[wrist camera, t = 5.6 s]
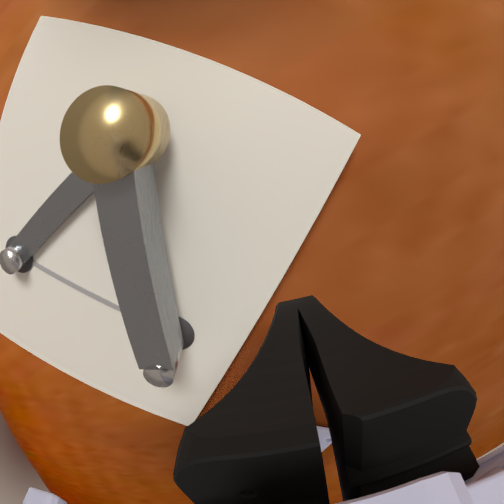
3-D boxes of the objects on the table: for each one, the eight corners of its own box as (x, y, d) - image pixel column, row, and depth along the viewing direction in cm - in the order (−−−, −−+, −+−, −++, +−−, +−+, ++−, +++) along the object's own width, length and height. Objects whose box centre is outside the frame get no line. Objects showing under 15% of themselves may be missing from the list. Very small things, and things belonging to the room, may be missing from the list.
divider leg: (99, 103, 11) (56, 98, 8) (169, 88, 11) (143, 75, 8) (144, 349, 16) (126, 394, 13) (203, 350, 16) (194, 398, 12)
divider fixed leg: (121, 128, 12) (110, 129, 11) (138, 153, 13) (129, 155, 12) (7, 251, 14) (-5, 259, 13) (21, 270, 15) (9, 278, 14)
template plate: (192, 416, 20) (189, 433, 18) (-11, 312, 17) (-23, 323, 16) (353, 134, 13) (365, 135, 12) (50, 19, 11) (34, 13, 9)
